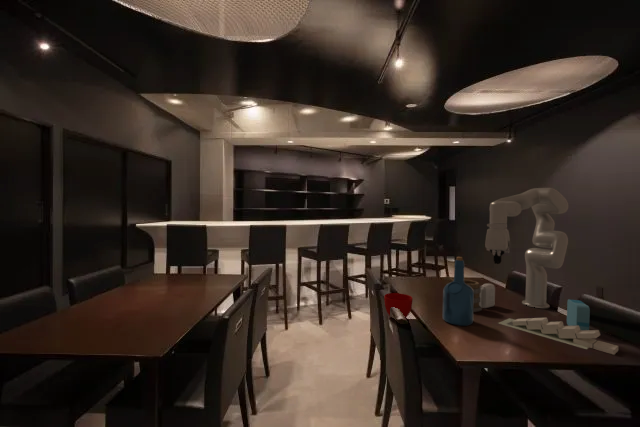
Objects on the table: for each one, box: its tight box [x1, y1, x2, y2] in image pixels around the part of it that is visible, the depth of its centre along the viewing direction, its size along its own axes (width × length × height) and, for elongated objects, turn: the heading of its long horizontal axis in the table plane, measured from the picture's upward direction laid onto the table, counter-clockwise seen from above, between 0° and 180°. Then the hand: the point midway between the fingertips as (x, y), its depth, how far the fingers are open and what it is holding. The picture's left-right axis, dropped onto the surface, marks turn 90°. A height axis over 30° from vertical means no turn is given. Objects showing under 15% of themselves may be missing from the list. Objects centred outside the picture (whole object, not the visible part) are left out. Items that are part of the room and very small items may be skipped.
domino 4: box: [558, 329, 601, 339], centre depth 126 cm, size 6×2×12 cm
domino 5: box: [573, 338, 619, 356], centre depth 121 cm, size 6×2×12 cm
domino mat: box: [497, 318, 590, 350], centre depth 135 cm, size 12×32×1 cm, turn 36°
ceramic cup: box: [383, 292, 414, 318], centre depth 152 cm, size 13×17×10 cm
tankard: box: [443, 275, 483, 313], centre depth 170 cm, size 20×13×15 cm, turn 35°
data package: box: [566, 298, 591, 330], centre depth 140 cm, size 12×4×12 cm, turn 158°
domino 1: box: [512, 317, 549, 326], centre depth 139 cm, size 6×2×12 cm
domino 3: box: [541, 325, 580, 334], centre depth 131 cm, size 6×2×12 cm
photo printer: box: [479, 283, 496, 309], centre depth 171 cm, size 10×4×12 cm, turn 123°
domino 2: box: [526, 320, 565, 330], centre depth 135 cm, size 6×2×12 cm
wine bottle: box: [441, 256, 475, 327], centre depth 146 cm, size 14×13×30 cm
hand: (497, 263), depth 157 cm, fingers closed
